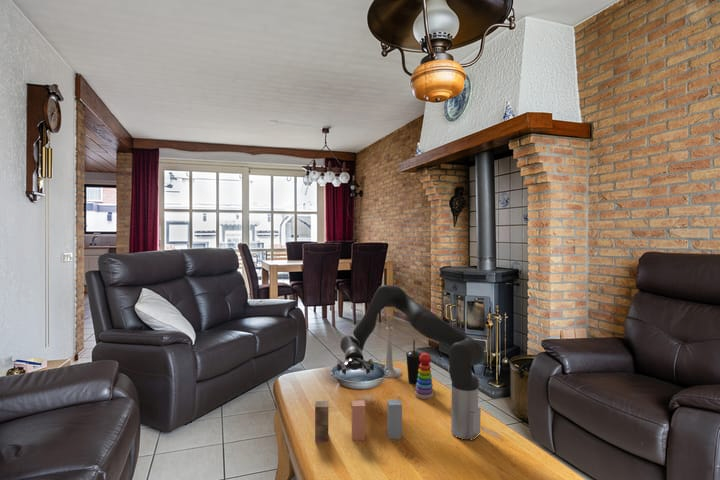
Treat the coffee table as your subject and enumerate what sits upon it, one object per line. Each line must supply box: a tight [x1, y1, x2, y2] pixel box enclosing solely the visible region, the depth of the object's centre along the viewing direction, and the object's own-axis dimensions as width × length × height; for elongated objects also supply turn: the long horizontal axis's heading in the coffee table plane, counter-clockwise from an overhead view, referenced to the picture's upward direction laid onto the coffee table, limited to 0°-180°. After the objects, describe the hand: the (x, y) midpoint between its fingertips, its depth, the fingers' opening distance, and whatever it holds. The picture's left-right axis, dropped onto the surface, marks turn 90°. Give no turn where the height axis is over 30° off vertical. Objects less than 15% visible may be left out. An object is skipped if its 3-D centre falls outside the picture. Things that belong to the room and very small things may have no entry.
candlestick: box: [384, 313, 403, 379], centre depth 204 cm, size 13×13×30 cm
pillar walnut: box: [314, 400, 329, 443], centre depth 142 cm, size 4×4×12 cm
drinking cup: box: [405, 340, 422, 385], centre depth 192 cm, size 8×8×20 cm
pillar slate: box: [386, 398, 403, 440], centre depth 144 cm, size 4×4×12 cm
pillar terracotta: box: [351, 399, 366, 441], centre depth 143 cm, size 4×4×12 cm
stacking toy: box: [414, 352, 434, 400], centre depth 177 cm, size 8×8×19 cm
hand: (356, 371), depth 153 cm, fingers open, 8 cm apart
